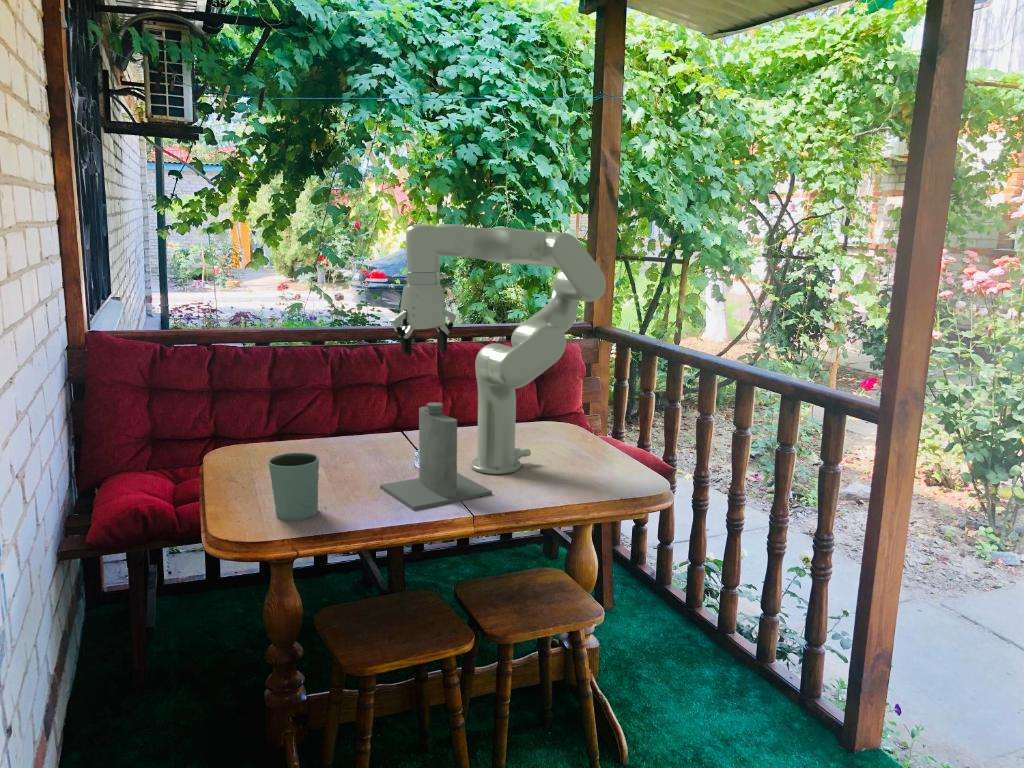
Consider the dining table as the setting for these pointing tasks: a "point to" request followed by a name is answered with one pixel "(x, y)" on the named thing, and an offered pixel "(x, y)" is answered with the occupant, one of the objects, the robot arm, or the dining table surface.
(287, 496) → the green cup
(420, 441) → the hip flask
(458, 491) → the rubber mat
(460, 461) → the dining table surface
